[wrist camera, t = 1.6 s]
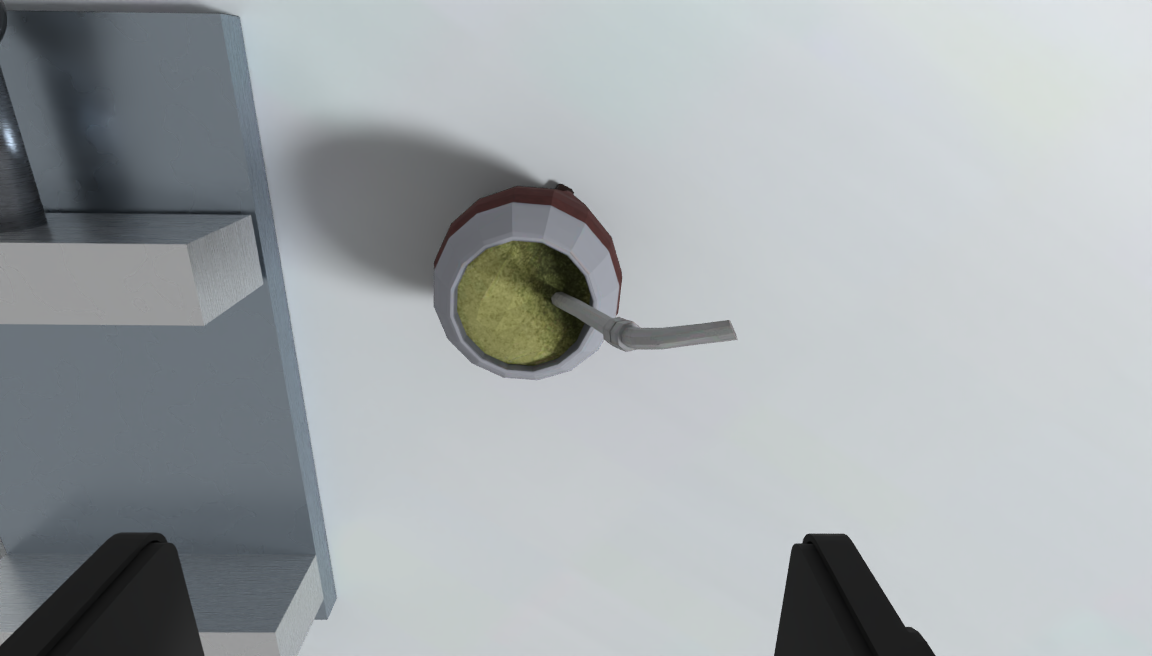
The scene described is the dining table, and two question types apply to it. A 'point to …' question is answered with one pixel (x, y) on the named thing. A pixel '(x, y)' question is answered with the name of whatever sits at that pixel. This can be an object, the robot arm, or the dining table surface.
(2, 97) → the vise jaw
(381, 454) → the dining table surface
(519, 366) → the mate gourd
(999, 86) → the dining table surface
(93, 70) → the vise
